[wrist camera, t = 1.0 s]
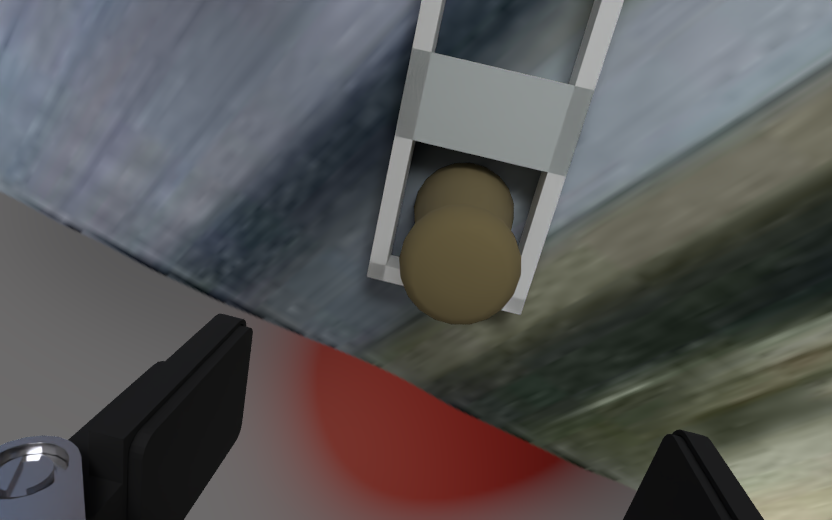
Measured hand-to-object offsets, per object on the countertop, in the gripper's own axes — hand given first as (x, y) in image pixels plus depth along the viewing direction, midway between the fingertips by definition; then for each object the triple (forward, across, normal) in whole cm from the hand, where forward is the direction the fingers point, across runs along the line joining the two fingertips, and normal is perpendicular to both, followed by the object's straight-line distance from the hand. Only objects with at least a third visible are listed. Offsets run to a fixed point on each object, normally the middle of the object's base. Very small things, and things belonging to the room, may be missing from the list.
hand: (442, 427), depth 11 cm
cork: (+20, 0, 0) cm, 20 cm away
